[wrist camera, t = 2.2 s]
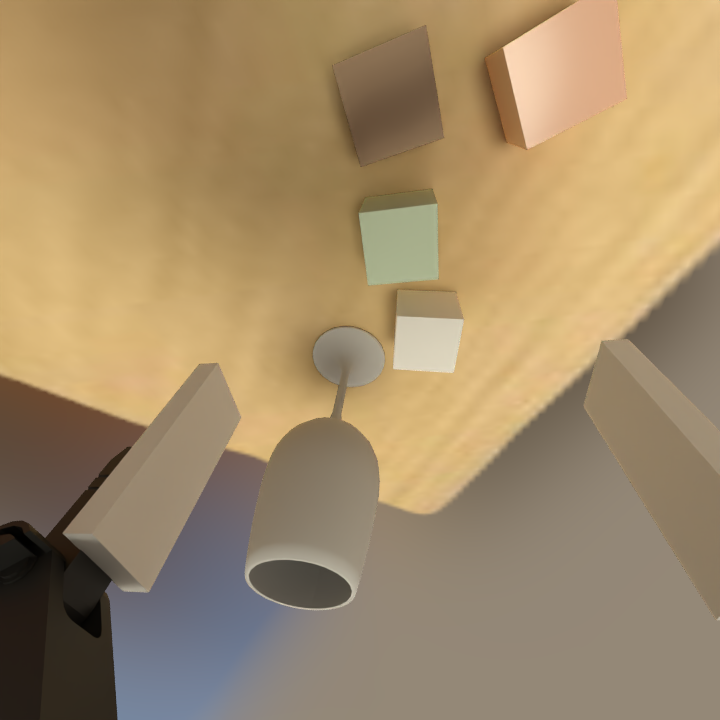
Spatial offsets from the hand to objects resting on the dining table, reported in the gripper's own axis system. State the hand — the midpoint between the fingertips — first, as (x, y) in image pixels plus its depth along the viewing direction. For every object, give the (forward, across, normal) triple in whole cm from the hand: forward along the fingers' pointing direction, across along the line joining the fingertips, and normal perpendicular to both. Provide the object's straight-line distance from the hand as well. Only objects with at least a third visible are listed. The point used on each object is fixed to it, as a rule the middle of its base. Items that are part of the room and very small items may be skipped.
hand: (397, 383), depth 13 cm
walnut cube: (+19, 0, +9) cm, 21 cm away
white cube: (+19, +2, -7) cm, 21 cm away
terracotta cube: (+19, +9, +9) cm, 23 cm away
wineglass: (+19, -6, -11) cm, 23 cm away
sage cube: (+19, 0, +1) cm, 19 cm away
